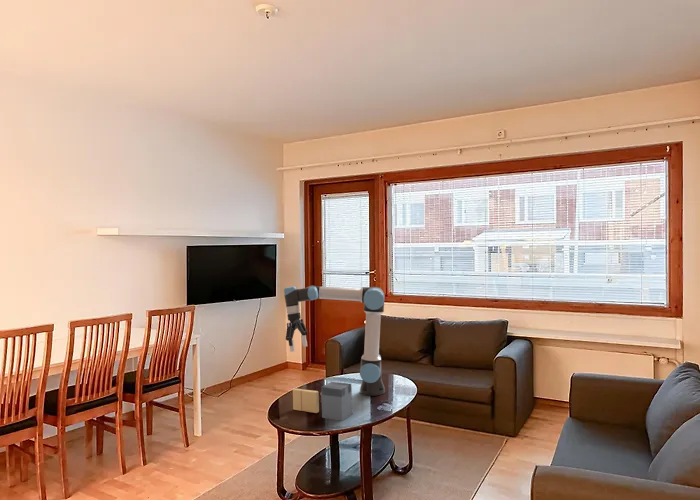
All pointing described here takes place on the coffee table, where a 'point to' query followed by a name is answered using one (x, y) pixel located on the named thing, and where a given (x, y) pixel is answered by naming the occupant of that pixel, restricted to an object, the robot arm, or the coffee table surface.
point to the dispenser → (336, 400)
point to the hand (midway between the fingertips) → (299, 348)
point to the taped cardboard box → (306, 400)
